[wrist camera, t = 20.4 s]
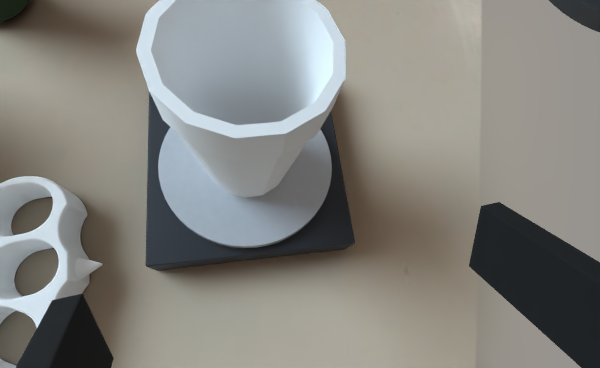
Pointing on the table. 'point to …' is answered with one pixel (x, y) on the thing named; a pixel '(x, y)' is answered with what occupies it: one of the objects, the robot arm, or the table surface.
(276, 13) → the foam cup
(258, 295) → the table surface
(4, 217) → the white brass knuckles
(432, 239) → the table surface
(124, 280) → the table surface
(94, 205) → the table surface
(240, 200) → the kitchen scale
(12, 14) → the character mug
